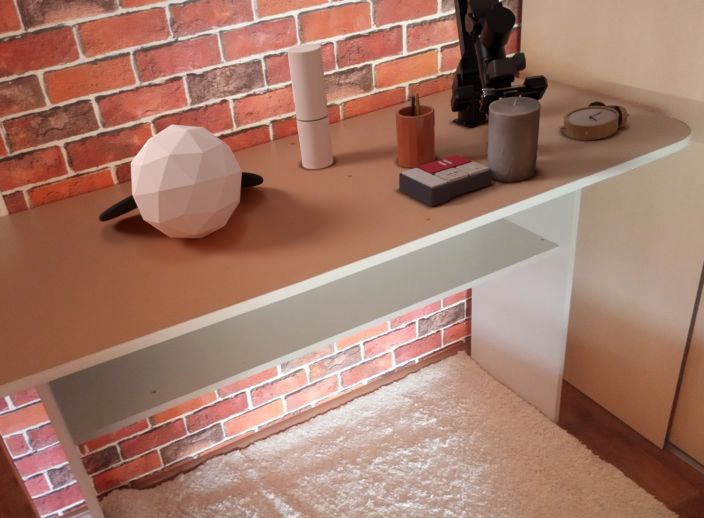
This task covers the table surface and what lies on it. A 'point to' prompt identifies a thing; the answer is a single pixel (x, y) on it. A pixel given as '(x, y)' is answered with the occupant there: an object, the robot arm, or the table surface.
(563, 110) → the table surface
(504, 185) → the table surface
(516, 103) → the pillar candle
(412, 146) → the pen pot
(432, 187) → the calculator
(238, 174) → the faceted geodesic sphere
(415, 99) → the pencils
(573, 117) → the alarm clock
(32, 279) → the table surface
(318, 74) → the cylindrical container
